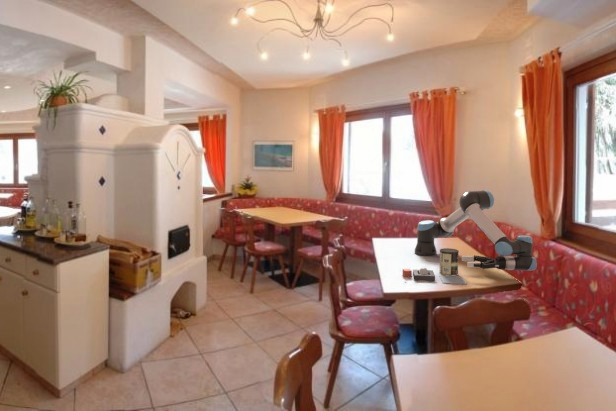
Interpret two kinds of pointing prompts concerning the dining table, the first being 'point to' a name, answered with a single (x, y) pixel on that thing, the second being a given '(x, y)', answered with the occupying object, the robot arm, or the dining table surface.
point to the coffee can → (449, 262)
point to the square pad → (452, 280)
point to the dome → (423, 271)
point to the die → (407, 273)
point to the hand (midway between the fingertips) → (464, 261)
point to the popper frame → (423, 276)
